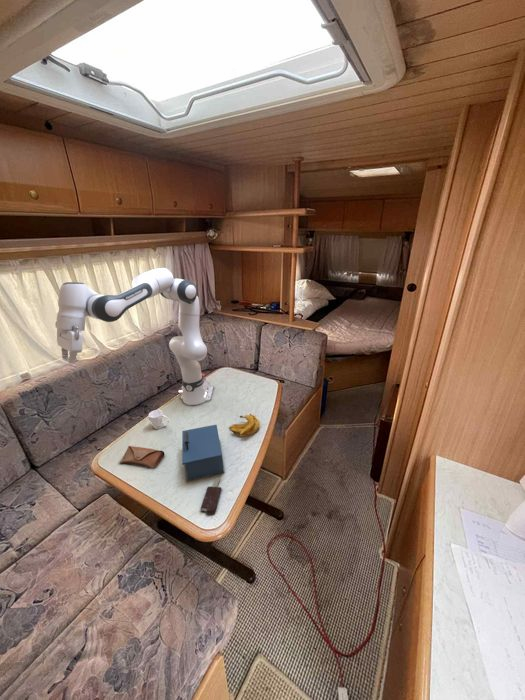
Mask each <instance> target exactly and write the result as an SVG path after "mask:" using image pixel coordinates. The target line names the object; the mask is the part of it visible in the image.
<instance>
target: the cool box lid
mask: <svg viewBox="0 0 525 700" xmlns="http://www.w3.org/2000/svg"><path fill="white" fill-rule="evenodd" d="M181 433H182V434H181V437H182V439H181V442H182V443H181V446H182V447H181V452H182V453H181V457H182V458H181V459H182V461H181V463H182V465H183V466H185V464H188V463H193V462H198V461H202V460H207V459H211V458H216V457H220V456H222V457H223V453H222V452H223V451H222V448H221V442H220V436H219V429H218V425H217V424H212V425H211V424H210V425H207V426H202V427H197V428H196V427H195V428H190V429H186V430H185V429H184V430H182V431H181Z"/></svg>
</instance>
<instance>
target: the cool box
mask: <svg viewBox="0 0 525 700" xmlns="http://www.w3.org/2000/svg"><path fill="white" fill-rule="evenodd" d="M223 461H224V460H223V455H222V456H220V457H216V458H211V459H207V460H202V461H198V462H193V463H188V464H184V468H185V473H186V479H187V481H188V482H189V481H193V480H198V479H202V478H205V477H210V476H214V475H218V474H223V473H225V469H224V462H223Z"/></svg>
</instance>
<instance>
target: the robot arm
mask: <svg viewBox="0 0 525 700" xmlns="http://www.w3.org/2000/svg"><path fill="white" fill-rule="evenodd" d="M131 286H132V287H131V288H129V289H127V290H125V291H123V292H121V293H118V294H115V295H113V294H100V293H98V292H96V291H94V290H93V289H91V288H90V287H89V286H88V285H87V284H86V283H84V282H76V281H75V282H74V281H73V282H72V281H71V282H70V281H69V282H64V283H62V284H61V286H60V287H59V288H60V289H59V293H58V300H57V307H58V311H57V313H56V321H55V325H54V326H55V328H56V343H57V346H59V347H60V351H61V359H62V360H67V363H68V364H71V365H73V364H75V363H76V358H77V355H78V354H81V353H82V351H83V343H84V342H83V341H84V340H83V339H84V335H83V333H82V332H84V331H85V328H86V318H87V317H89V318H92V319H95V320H101V321H102V322H106V323H113V322H117V321H118V320H119V319H121V318H122V316H123V315H124V314H125V313H126V312H127V311H128V310H129V309H131V308H133V307H134V306H136V305H138V304H140V303H142V302H143V301H145V300H147V299H150V298H153V297H156V296H158V295H160V296H161V297H163V298H164V299H167V300H170V301H174V302H178V305H179V306H178V324H177V326H178V327H177V328H178V329H179V331H180V332H181V334H182V336H181V335H177V336H172V338H171V339H170V340H169V344H168V347H169V350H170V351H171V352H172V354H173V355H174V357H175V358H176V361H177V364H178V366H179V368H180V373H181V377H182V379H181V381H182V382H181V383H182V385H181V390H178V393H181V395H180V399H181V400H182V401H183V403H184V405H187V406H197V405H201V404H203V403H205V402H208V401H211V398H212V396H213V391H214V386H213V385H211V384H210V381H209V380H207V377H206V378H205V375H206V374H205V373H203V372H202V369H201V364H200V362H201V361H203V360H204V359H205V358H206V357H207V354H208V347H207V345H206V344H205V343H204V340H203V338H202V335H201V330H200V318H201V316H200V315H201V307H200V298H199V296H198V289H197V286H196V284H195V283H194V282H193V281H191V280H188V279H182V278H174V276H173V273H172V272H171V271H170V269H168V268H166V267H158V268H157V267H156V268H152V269H150V270H147V271H144V272H142V273H140V274H138V275H137V276H135V277H133V278H132V282H131Z"/></svg>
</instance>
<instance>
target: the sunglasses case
mask: <svg viewBox="0 0 525 700" xmlns="http://www.w3.org/2000/svg"><path fill="white" fill-rule="evenodd" d="M164 458H165V451H164V450H160V449H153V448H148V447H141V446H133V445H128V446H127V448H126V451H125V452H124V455H123V456H122V459H121V460H120V462H119V463H120V464H129V465H135V466H140V467H145V468H149V469H156V467H158V465H159V464H161V462H162V461H163V460H164Z"/></svg>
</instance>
